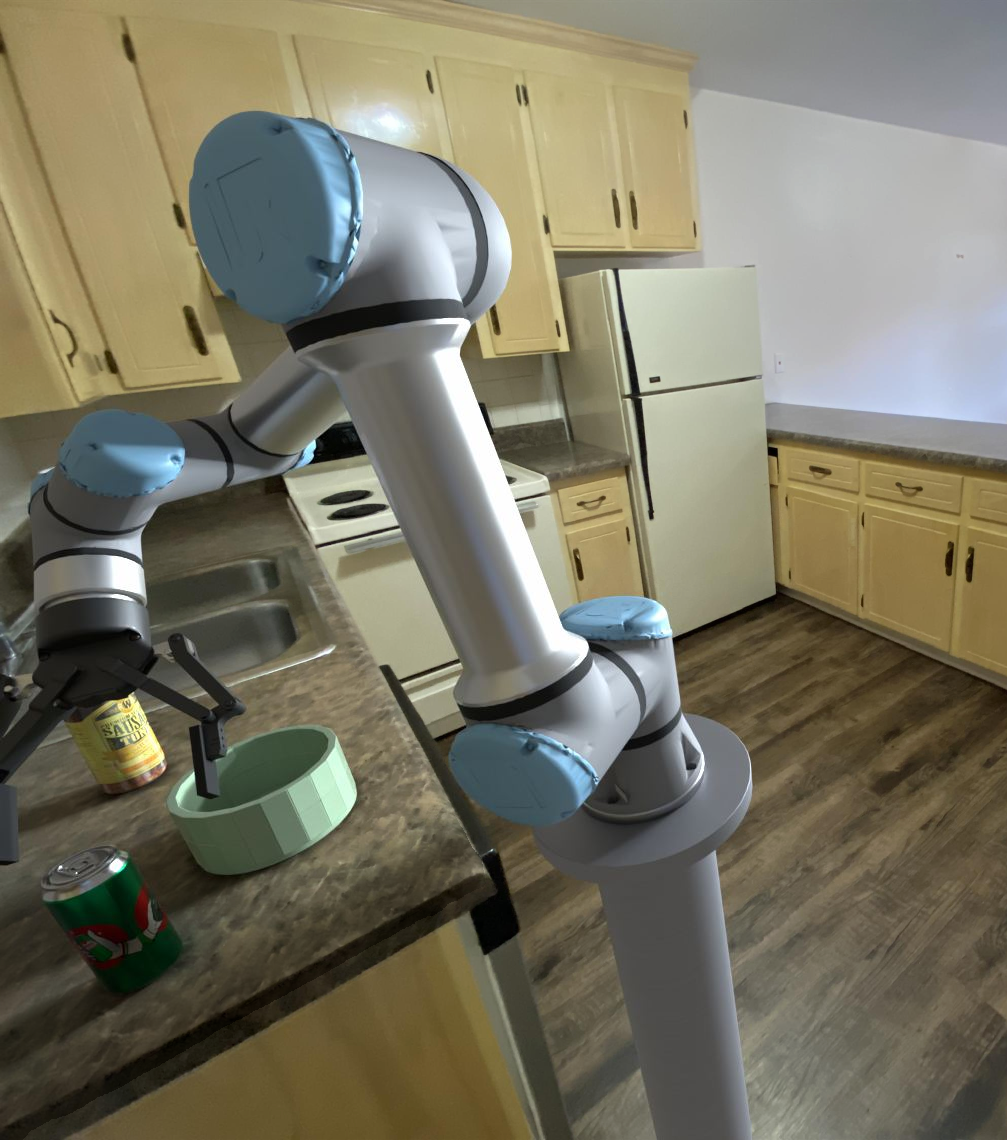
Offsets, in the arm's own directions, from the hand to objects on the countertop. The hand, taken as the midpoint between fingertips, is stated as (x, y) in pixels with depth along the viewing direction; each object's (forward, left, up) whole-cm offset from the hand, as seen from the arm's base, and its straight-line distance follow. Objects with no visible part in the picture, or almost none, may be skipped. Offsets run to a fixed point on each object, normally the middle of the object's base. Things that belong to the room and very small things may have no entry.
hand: (111, 828), depth 54 cm
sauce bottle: (+9, -29, -11) cm, 32 cm away
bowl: (-8, -9, -11) cm, 16 cm away
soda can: (0, +6, -11) cm, 13 cm away
